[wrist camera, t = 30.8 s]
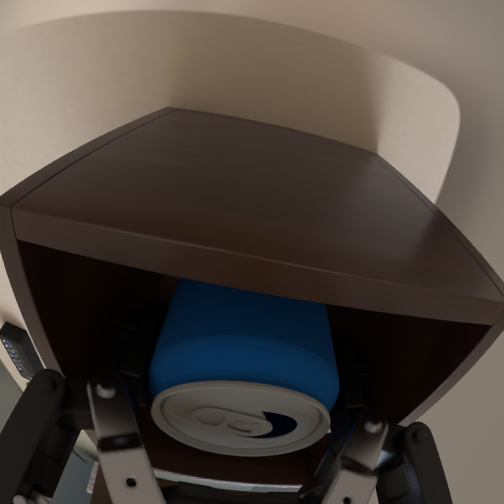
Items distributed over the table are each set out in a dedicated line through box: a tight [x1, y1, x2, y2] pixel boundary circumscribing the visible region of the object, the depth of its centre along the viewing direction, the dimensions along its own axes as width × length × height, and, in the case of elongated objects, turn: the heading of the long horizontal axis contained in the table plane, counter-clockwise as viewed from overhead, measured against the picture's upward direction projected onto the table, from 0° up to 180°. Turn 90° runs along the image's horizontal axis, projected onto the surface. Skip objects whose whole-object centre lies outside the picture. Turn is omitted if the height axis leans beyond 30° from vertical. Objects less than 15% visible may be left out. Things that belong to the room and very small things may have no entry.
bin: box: [0, 107, 504, 487], centre depth 16 cm, size 17×14×14 cm
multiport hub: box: [0, 322, 44, 381], centre depth 32 cm, size 4×11×2 cm, turn 167°
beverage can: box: [147, 277, 340, 456], centre depth 13 cm, size 6×6×12 cm
